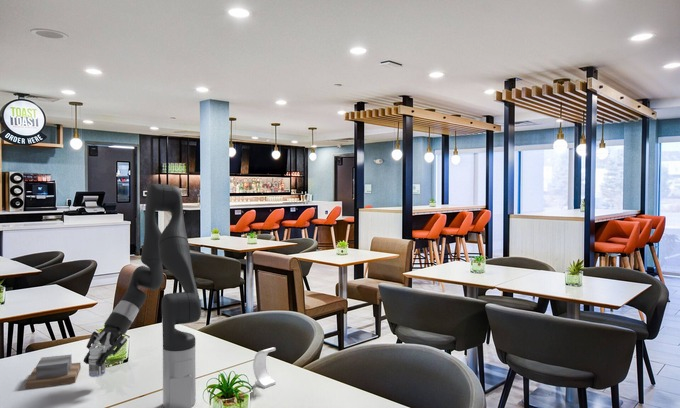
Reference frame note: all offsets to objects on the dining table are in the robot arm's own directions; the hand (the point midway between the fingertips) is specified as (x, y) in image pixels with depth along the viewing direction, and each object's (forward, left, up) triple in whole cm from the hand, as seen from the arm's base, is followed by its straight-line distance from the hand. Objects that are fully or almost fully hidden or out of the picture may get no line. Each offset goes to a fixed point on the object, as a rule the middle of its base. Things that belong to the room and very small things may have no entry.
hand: (92, 363), depth 153 cm
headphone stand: (-15, -52, -9) cm, 55 cm away
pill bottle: (+1, -1, -4) cm, 5 cm away
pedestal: (+15, +13, -8) cm, 22 cm away
